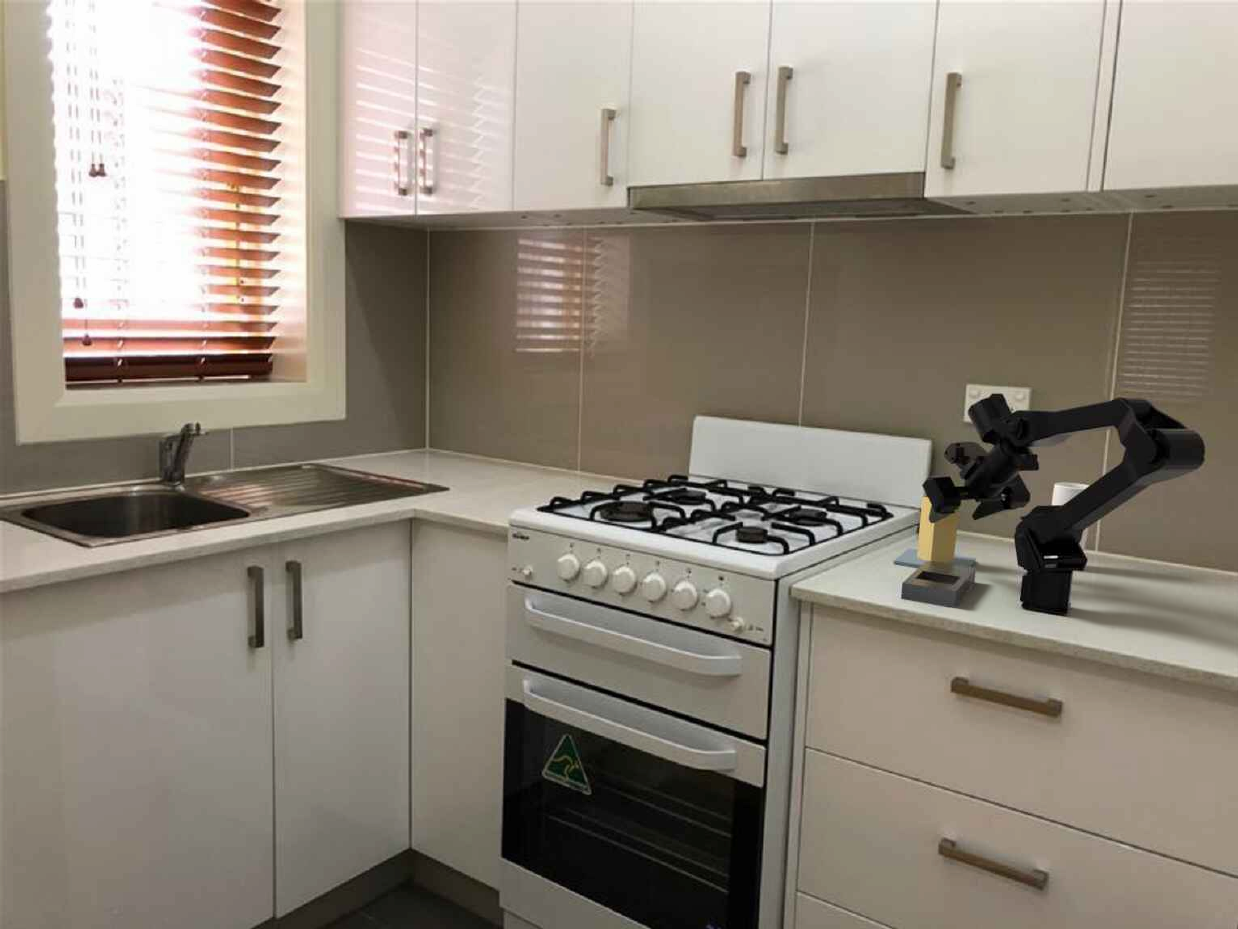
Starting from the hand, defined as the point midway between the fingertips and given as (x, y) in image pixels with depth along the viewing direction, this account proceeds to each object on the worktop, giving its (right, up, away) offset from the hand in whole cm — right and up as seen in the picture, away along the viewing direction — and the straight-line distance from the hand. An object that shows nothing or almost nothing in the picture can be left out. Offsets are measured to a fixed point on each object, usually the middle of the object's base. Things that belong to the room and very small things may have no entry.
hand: (952, 519), depth 174 cm
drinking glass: (+23, -9, +6) cm, 25 cm away
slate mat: (-2, -8, +5) cm, 10 cm away
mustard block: (-2, -7, +5) cm, 9 cm away
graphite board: (-7, -11, -14) cm, 19 cm away
